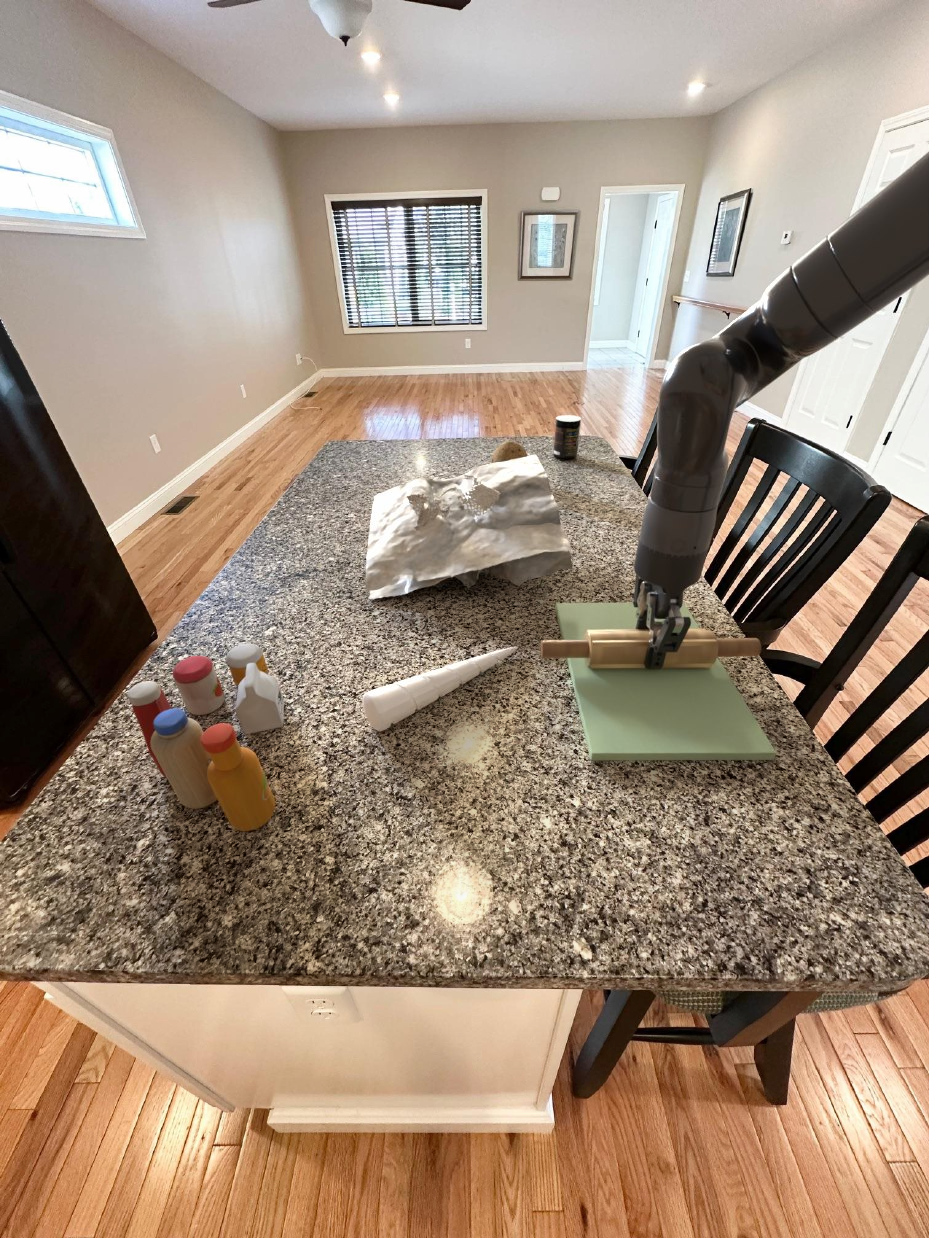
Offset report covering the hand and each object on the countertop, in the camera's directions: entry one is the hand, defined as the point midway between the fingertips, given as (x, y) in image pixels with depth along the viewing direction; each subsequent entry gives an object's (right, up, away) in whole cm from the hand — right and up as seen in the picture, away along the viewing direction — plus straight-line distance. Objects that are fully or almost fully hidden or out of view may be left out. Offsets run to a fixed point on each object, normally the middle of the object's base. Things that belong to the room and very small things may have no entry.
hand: (647, 654), depth 68 cm
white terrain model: (-24, +17, +29) cm, 42 cm away
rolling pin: (0, -1, 0) cm, 1 cm away
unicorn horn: (-27, -5, -1) cm, 27 cm away
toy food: (-52, -10, -8) cm, 54 cm away
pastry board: (0, -2, +1) cm, 3 cm away
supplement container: (+4, +50, +75) cm, 90 cm away
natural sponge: (-13, +39, +60) cm, 73 cm away
